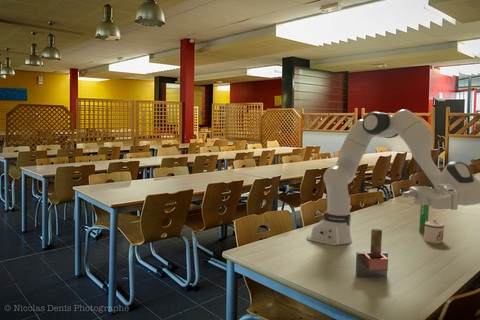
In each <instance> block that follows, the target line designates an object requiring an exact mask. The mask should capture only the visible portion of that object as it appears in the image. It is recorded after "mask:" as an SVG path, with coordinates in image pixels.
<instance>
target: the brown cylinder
mask: <svg viewBox="0 0 480 320" xmlns="http://www.w3.org/2000/svg"><path fill="white" fill-rule="evenodd" d="M370 235H371V236H370V238H371V239H370V251H369V252H370V258H381V252H382V237H383V230H382V229H379V228H372V229H371V234H370Z"/></svg>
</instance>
